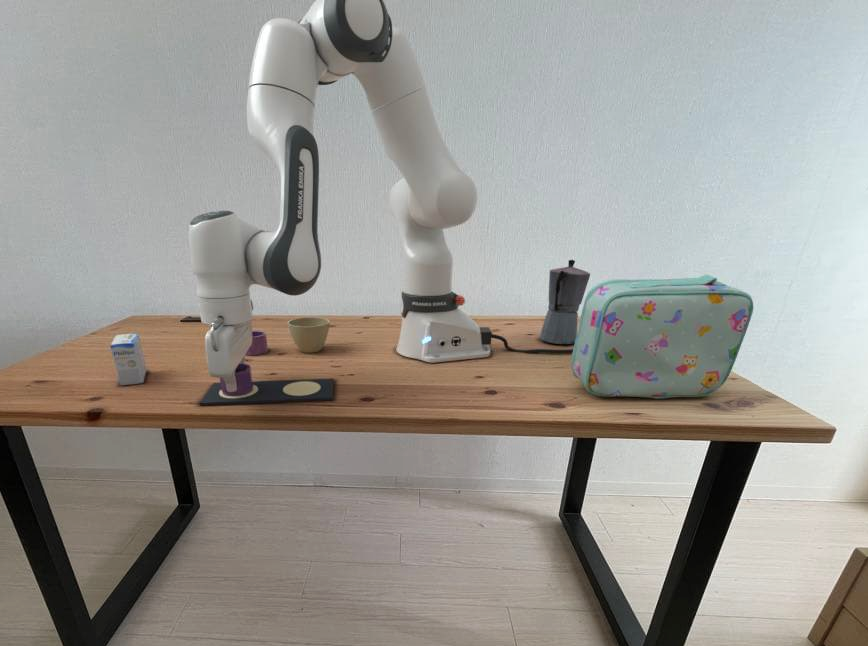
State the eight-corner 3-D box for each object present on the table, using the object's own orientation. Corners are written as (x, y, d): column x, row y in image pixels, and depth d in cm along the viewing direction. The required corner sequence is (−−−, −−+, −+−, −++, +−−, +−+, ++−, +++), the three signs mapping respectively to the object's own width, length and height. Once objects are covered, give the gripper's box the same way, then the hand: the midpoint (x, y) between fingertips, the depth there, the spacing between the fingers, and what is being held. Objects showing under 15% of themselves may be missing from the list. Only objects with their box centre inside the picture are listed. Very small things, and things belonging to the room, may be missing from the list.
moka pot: (583, 336, 120) (597, 258, 112) (571, 352, 108) (585, 265, 100) (546, 332, 125) (557, 256, 117) (530, 346, 113) (541, 262, 105)
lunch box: (696, 380, 91) (729, 269, 82) (733, 400, 81) (774, 278, 73) (563, 381, 91) (581, 271, 82) (584, 402, 82) (607, 280, 73)
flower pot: (313, 358, 106) (311, 328, 103) (281, 352, 111) (278, 323, 108) (339, 347, 114) (337, 319, 111) (308, 342, 119) (306, 315, 116)
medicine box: (124, 373, 98) (114, 334, 95) (147, 371, 100) (138, 332, 96) (120, 386, 92) (109, 344, 88) (144, 383, 93) (134, 342, 90)
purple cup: (269, 348, 115) (267, 330, 113) (265, 355, 109) (263, 336, 108) (246, 348, 114) (243, 331, 112) (241, 355, 109) (238, 337, 107)
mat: (333, 380, 93) (333, 377, 93) (332, 400, 84) (332, 396, 84) (214, 385, 92) (213, 382, 91) (199, 405, 82) (199, 402, 82)
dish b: (255, 384, 90) (252, 362, 88) (250, 395, 85) (247, 373, 83) (226, 385, 89) (222, 363, 88) (218, 397, 84) (214, 374, 82)
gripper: (231, 324, 71) (242, 404, 77) (254, 299, 90) (262, 365, 96) (190, 325, 71) (204, 406, 77) (221, 299, 90) (231, 366, 95)
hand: (236, 383), depth 86 cm, fingers open, 6 cm apart
